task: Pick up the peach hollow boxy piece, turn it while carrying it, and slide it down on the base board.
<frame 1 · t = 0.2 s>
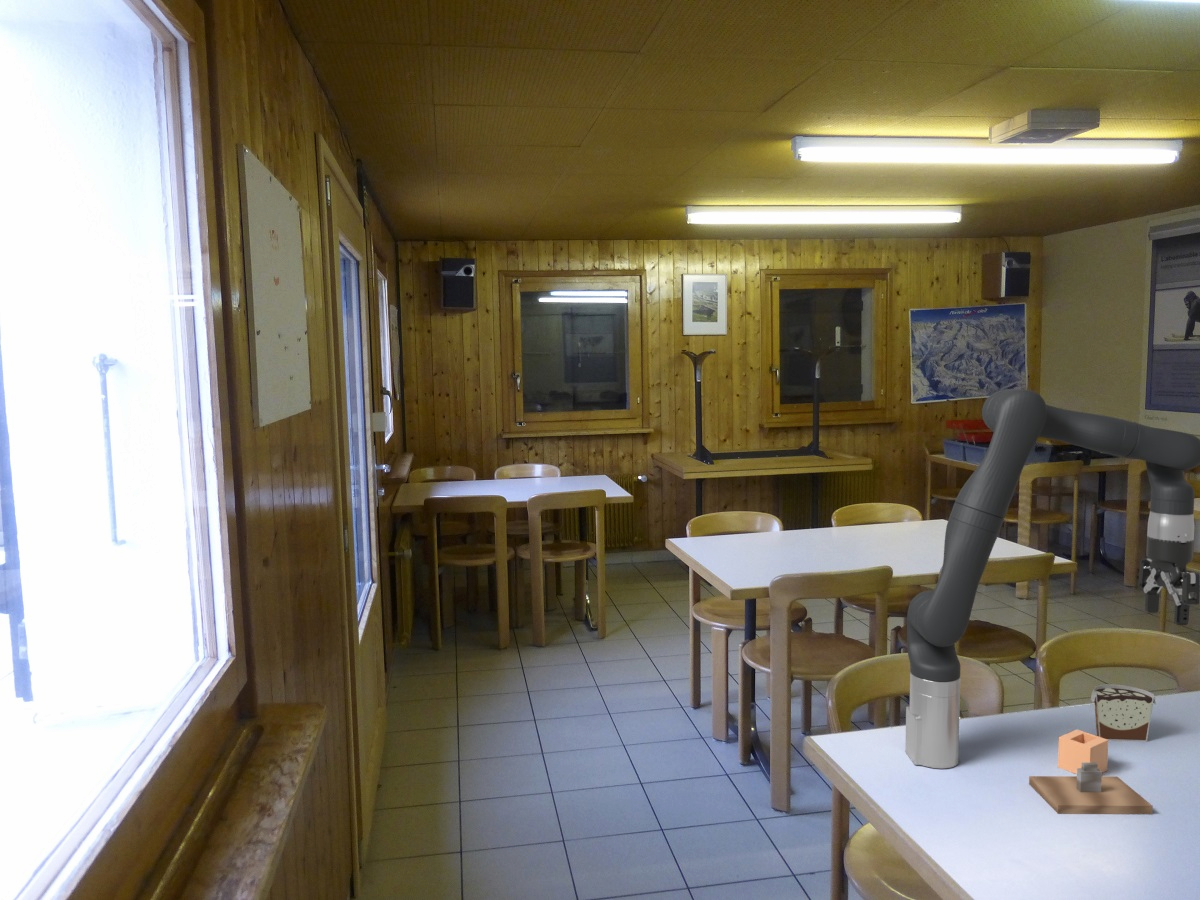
hand: (1166, 618, 169), 28 cm above the table, fingers open, 8 cm apart
peach hollow boxy piece: (1082, 768, 168), on the table
food container: (1115, 735, 184), on the table
base board: (1088, 798, 157), on the table
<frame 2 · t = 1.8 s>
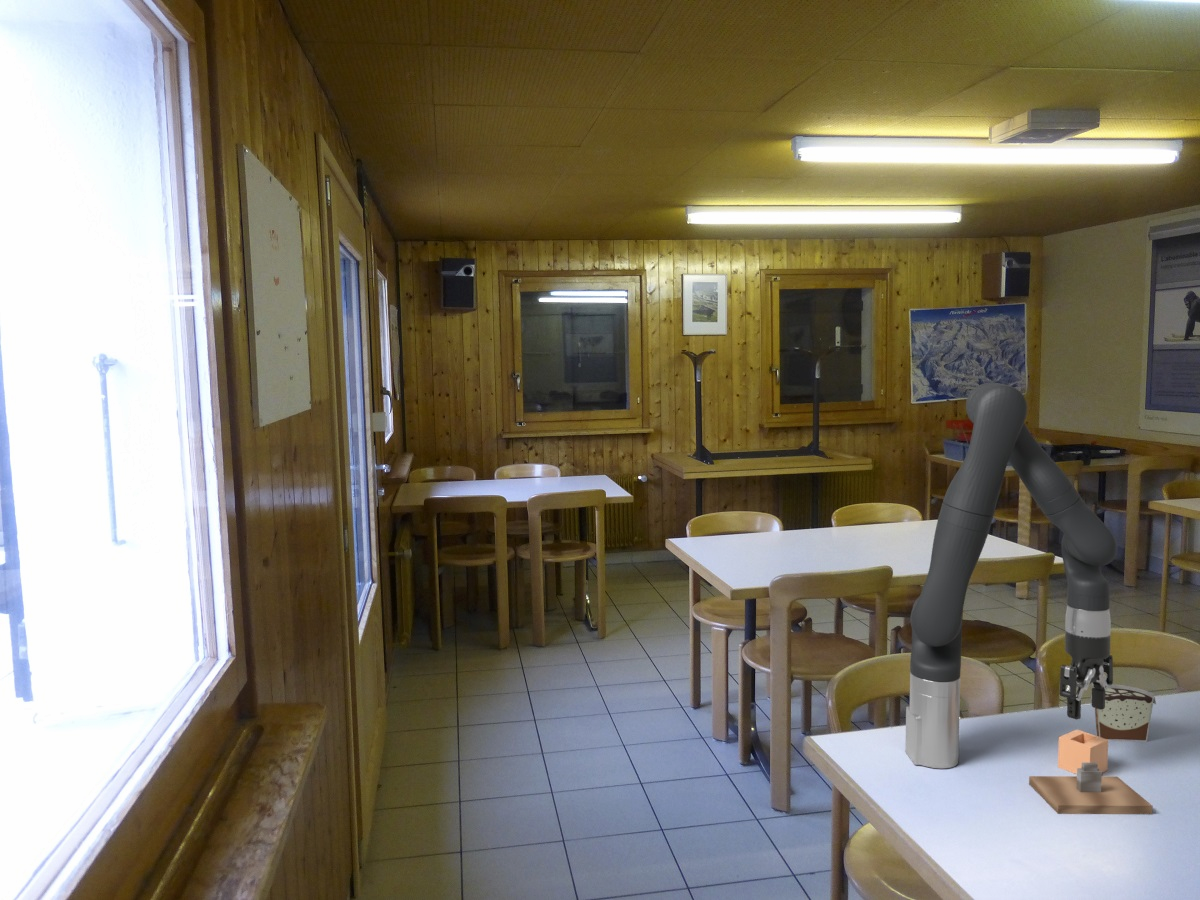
hand: (1086, 713, 167), 11 cm above the table, fingers open, 8 cm apart
nothing on the table moved.
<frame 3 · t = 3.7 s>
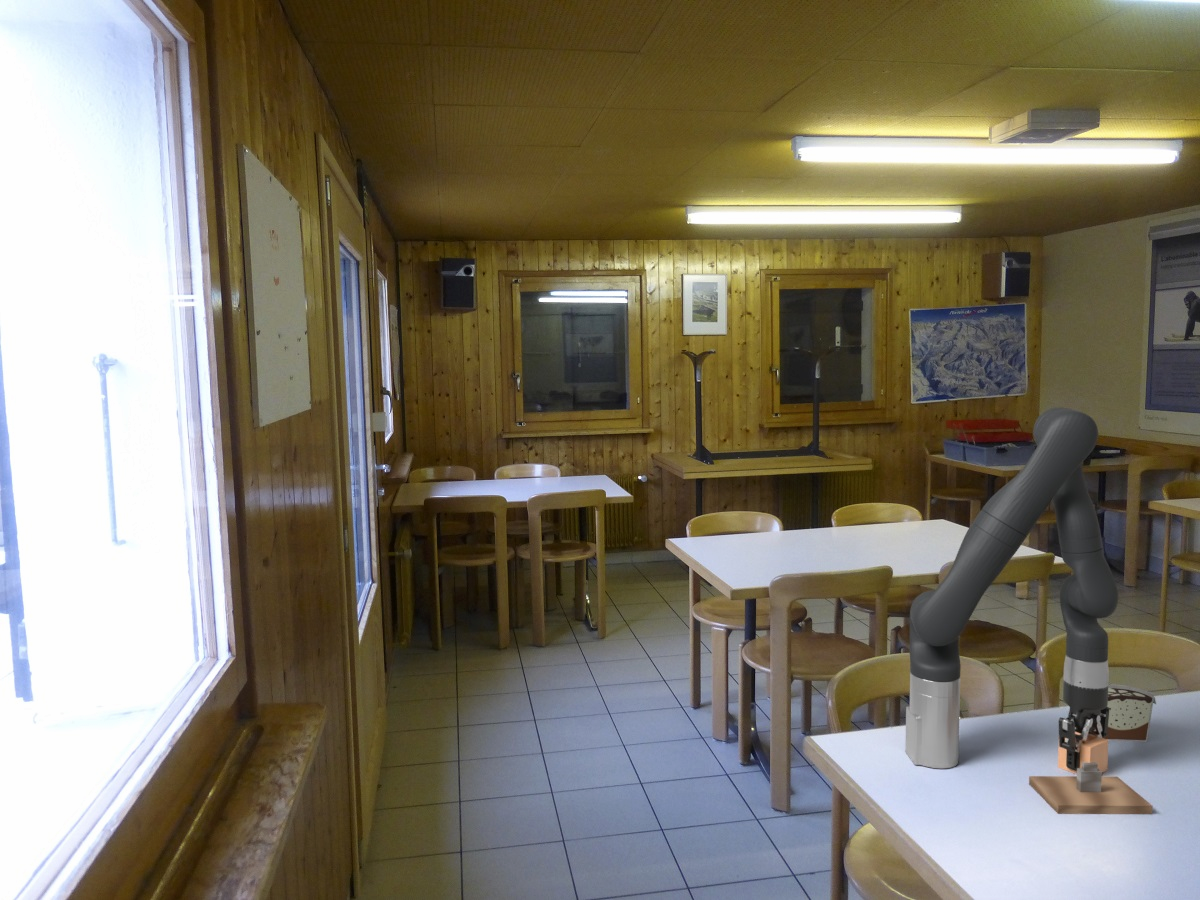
hand: (1082, 764, 168), 1 cm above the table, fingers closed on peach hollow boxy piece, 6 cm apart
peach hollow boxy piece: (1082, 768, 168), on the table, touching gripper
everything else where it was.
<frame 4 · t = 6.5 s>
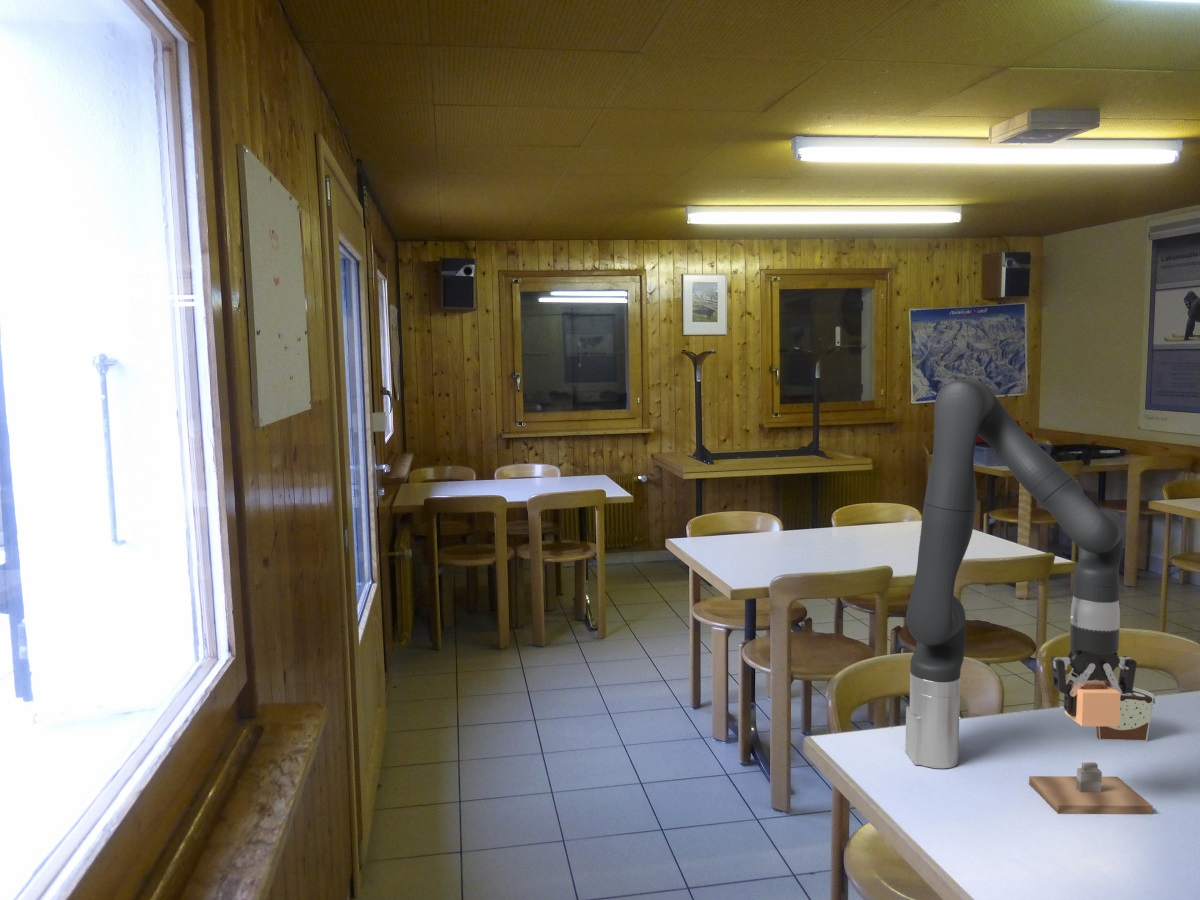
hand: (1091, 714, 155), 15 cm above the table, fingers closed on peach hollow boxy piece, 6 cm apart
peach hollow boxy piece: (1091, 719, 155), point 15 cm above the table, touching gripper
everything else where it was.
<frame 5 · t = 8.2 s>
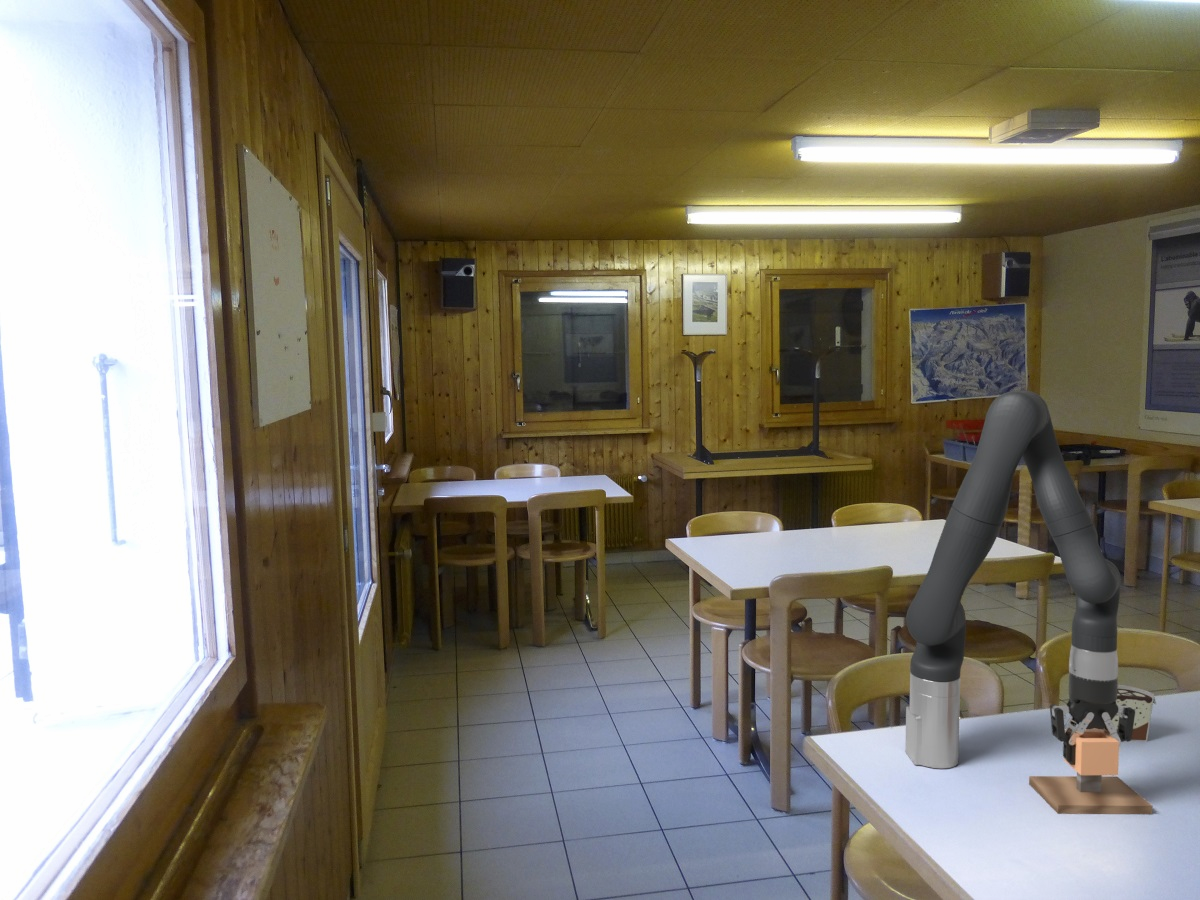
hand: (1090, 762, 156), 7 cm above the table, fingers closed on peach hollow boxy piece, 6 cm apart
peach hollow boxy piece: (1090, 767, 156), point 6 cm above the table, touching gripper
everything else where it was.
when the fingers open (4 cm above the table, at t = 9.7 s): peach hollow boxy piece drops 2 cm, resting on base board.
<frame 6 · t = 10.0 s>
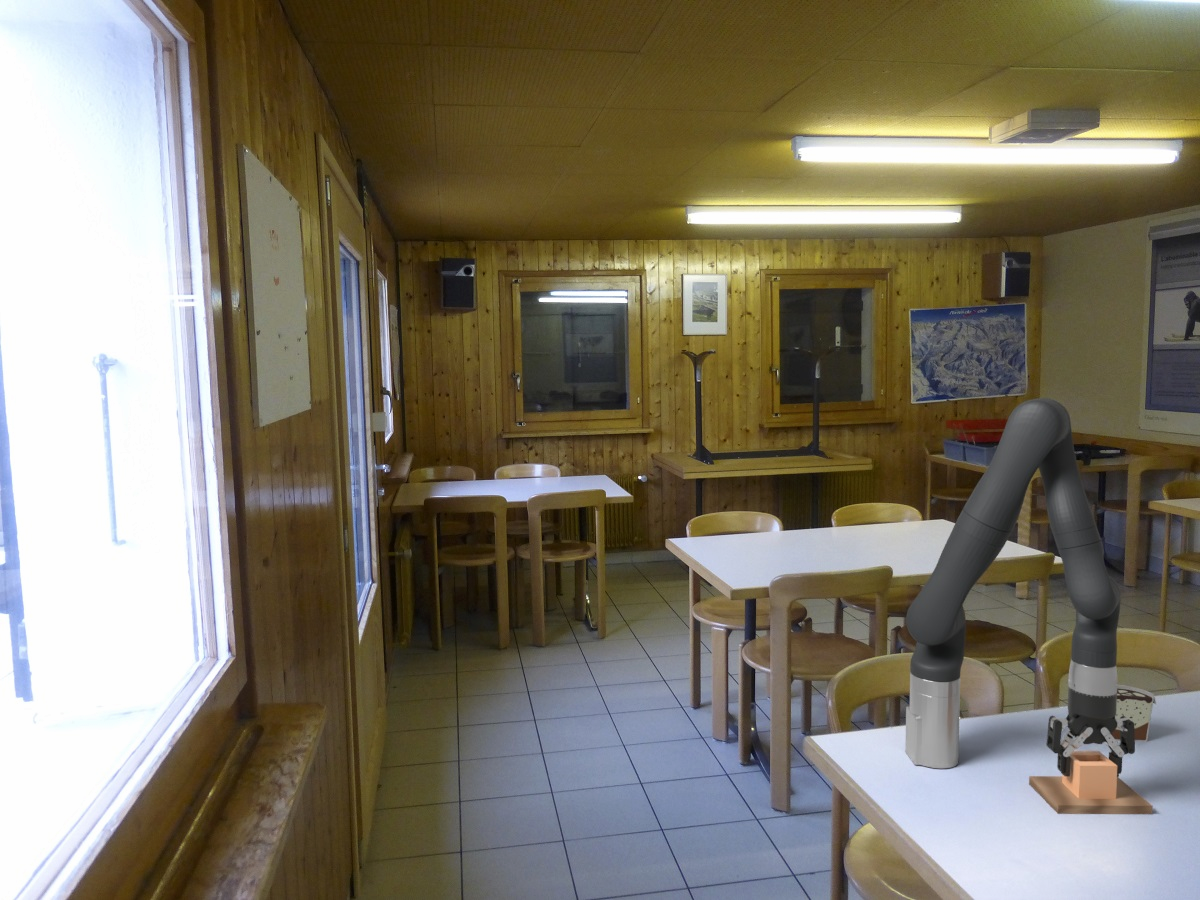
hand: (1089, 774, 156), 4 cm above the table, fingers open, 8 cm apart
peach hollow boxy piece: (1088, 790, 156), point 1 cm above the table, touching base board
everything else where it was.
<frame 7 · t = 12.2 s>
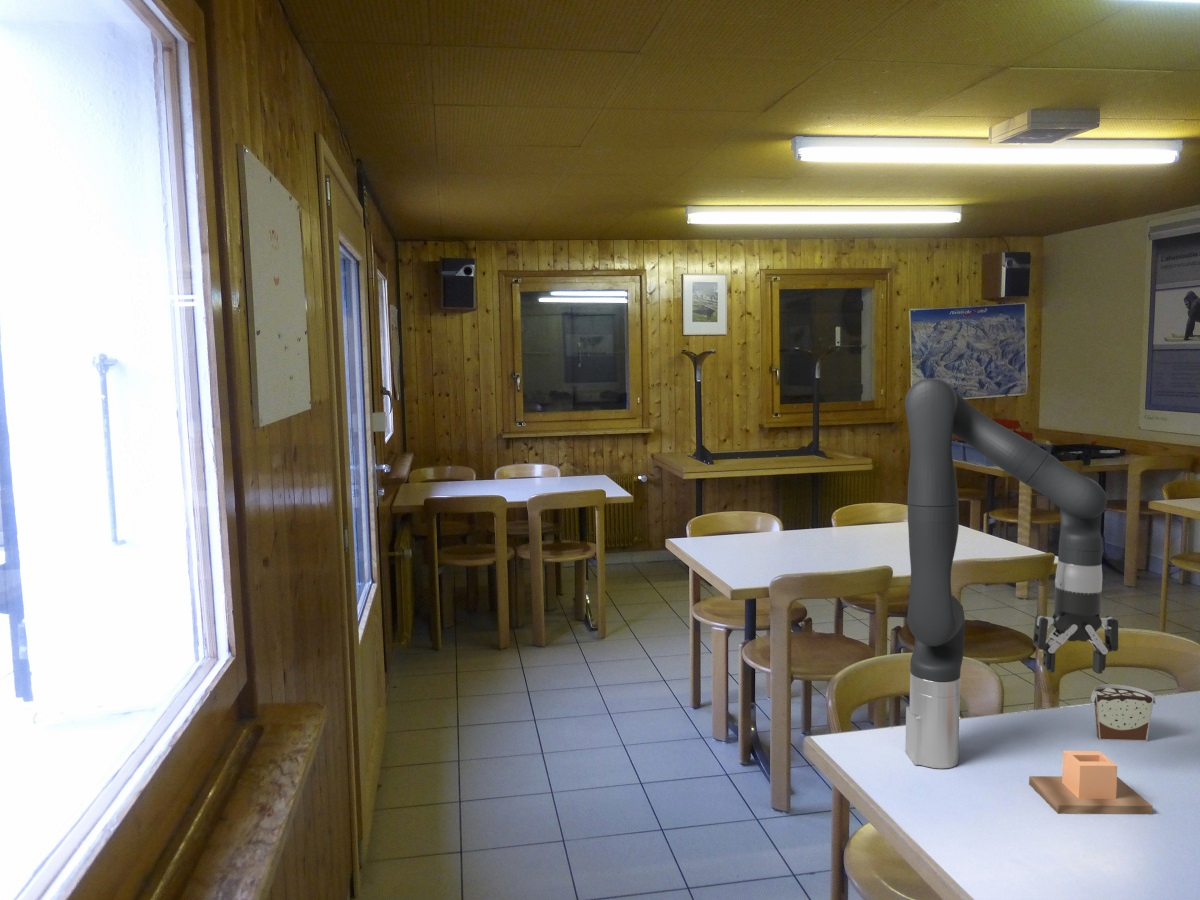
hand: (1073, 671, 162), 21 cm above the table, fingers open, 8 cm apart
nothing on the table moved.
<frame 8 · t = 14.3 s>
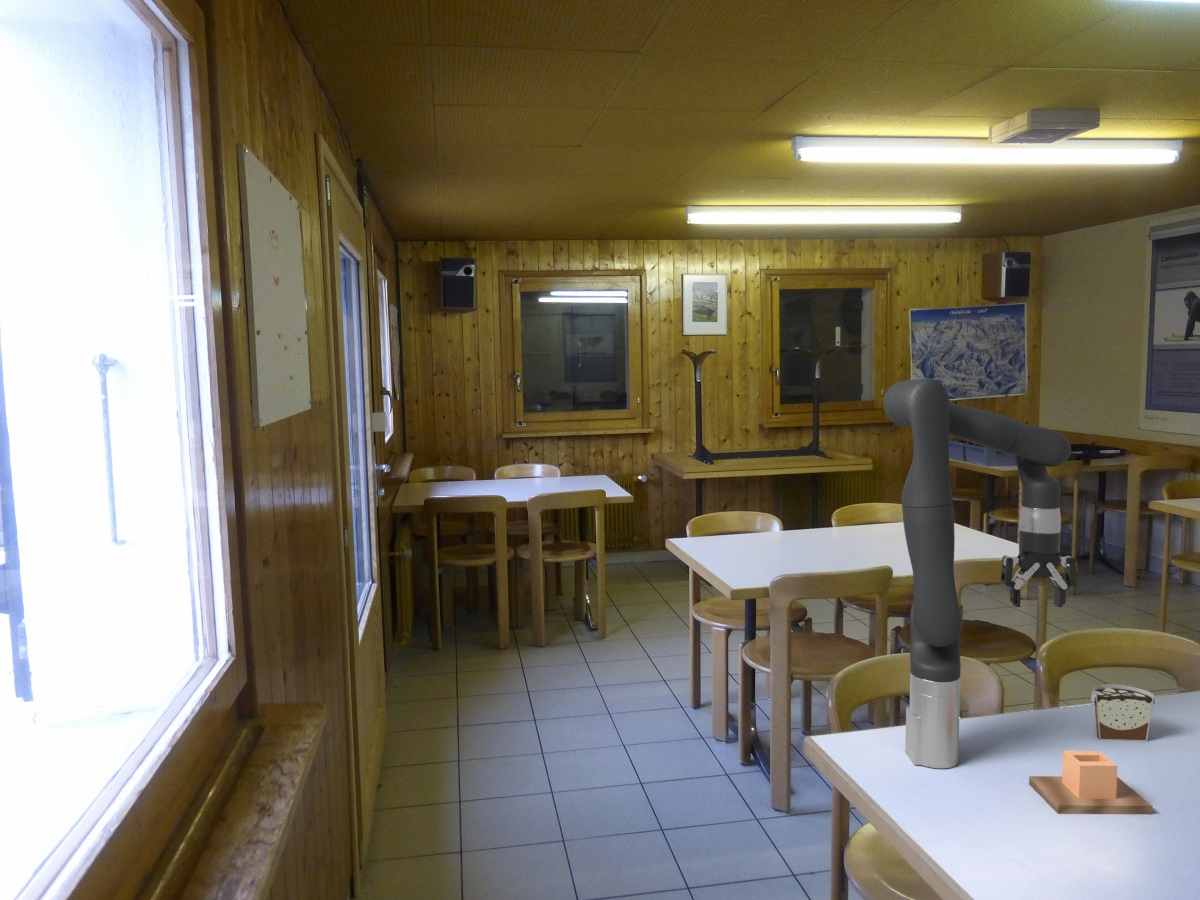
hand: (1037, 606, 180), 28 cm above the table, fingers open, 8 cm apart
nothing on the table moved.
at the end: peach hollow boxy piece 0.1 cm off-centre on the base board, point 1.5 cm above the base board's base; the gripper is holding nothing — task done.
